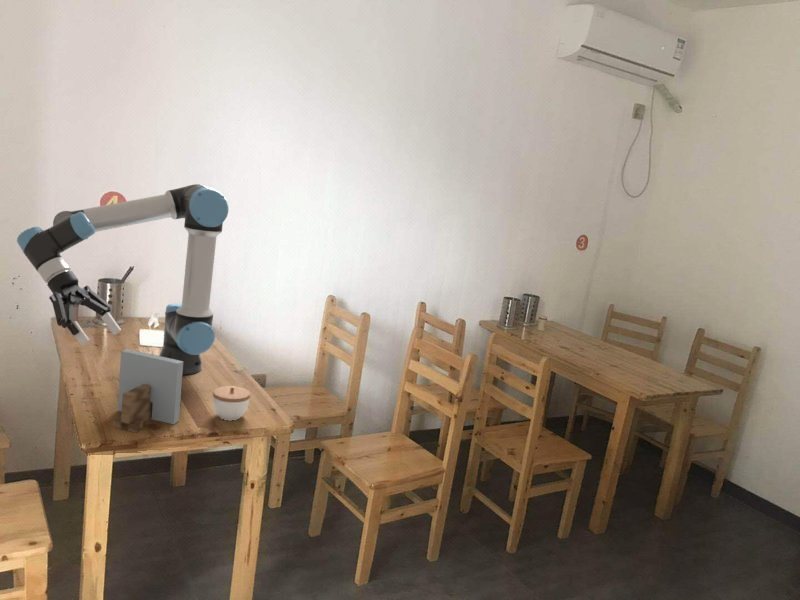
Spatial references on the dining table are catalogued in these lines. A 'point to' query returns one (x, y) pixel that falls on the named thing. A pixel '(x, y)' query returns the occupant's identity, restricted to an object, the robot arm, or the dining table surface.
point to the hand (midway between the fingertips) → (102, 337)
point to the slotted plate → (153, 382)
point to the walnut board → (135, 409)
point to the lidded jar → (230, 402)
